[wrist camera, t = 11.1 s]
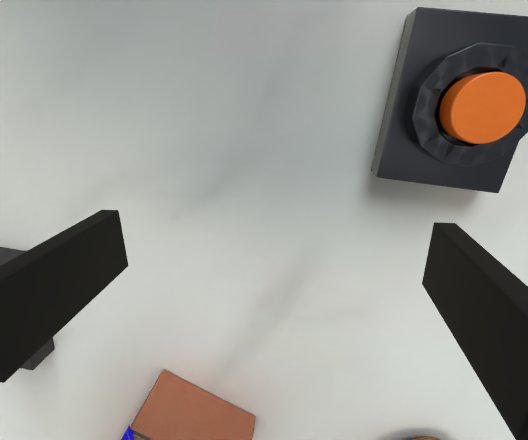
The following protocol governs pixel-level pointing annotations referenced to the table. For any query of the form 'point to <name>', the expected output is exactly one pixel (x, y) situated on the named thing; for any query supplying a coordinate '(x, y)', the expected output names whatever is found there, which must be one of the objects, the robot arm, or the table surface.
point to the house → (188, 414)
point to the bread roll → (425, 438)
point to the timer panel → (5, 255)
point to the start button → (482, 107)
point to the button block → (434, 89)
